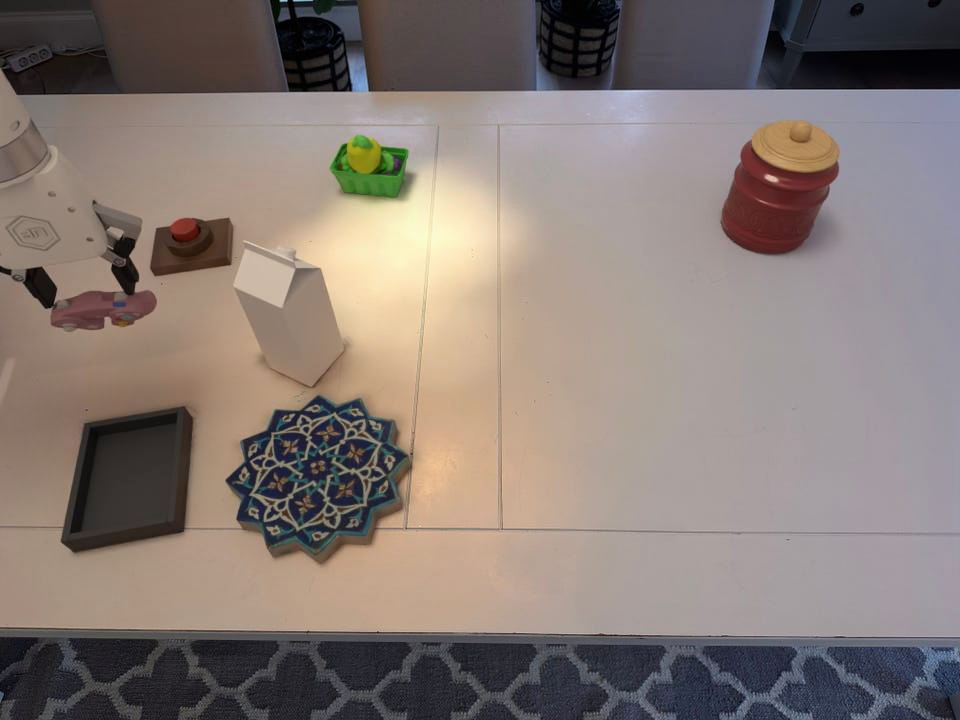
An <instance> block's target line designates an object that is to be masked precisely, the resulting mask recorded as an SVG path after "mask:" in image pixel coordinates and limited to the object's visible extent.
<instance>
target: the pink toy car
mask: <svg viewBox="0 0 960 720" xmlns="http://www.w3.org/2000/svg"><path fill="white" fill-rule="evenodd" d="M157 305H158V300H157V297H156V294H155V293H154V292H153V291H152V290H149V289H144V290H142V291H137V292H136V291H135V293H134V295H129V296H128V295H126V294H125V292H124V291H123V290H120V291H102V290H87V291H84V292H82V293H80V294H77V295H75V296H72V297H67V298H63V299H57V300H56V302H54V306H53V307H52V308H51V311H50V315H49V317H50V318H49V319H50V325H51V327H54V328H58V329H62V330H63V331H65V332H67V333H73V332H75V331H77V329H80V330H85V331H86V330H87V331H98V330H99V331H100V330H104V329H105V322H106V321H105V320H106V319H105V318H109V319H110V323H111V325H112V326H114V327H115V326H116V327H120V328H127V327H128V326H133V325H134V324H135V322H136V321H138V320H141V319H143V318H145V317H146V316H148V315H150V314H151V313H153V312H154V311H155V309H156V307H157Z"/></svg>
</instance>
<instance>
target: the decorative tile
mask: <svg viewBox="0 0 960 720" xmlns="http://www.w3.org/2000/svg"><path fill="white" fill-rule="evenodd" d="M397 431H398V428H397V422H396V420H395V419H391V418H384V417H375V416H370V414H369V412H368V409H367V407H366V405H365V403H364V401H363V398H362V397H357V398H354V399H351V400H348V401H345V402H342V403H339V404H335V403H334V402H332V401H331V400H329V399H328V398H326V397H325V396H323V395H322V394H320V393H318V394H317V395H316V396H315V397H313V398H312V399H311V400H309V402H307V403H306V404H305V405H304V406H303V407H301V408H300V409H299V410H297V409H296V410H295V409H285V408H283V409H282V408H275V409H274V410H273V412H272V415H271V418H270V419H269V422H268V424H267V427H266V429H265V430H263V431H261V432H258V433H256V434H253V435H250V436H248V437H245V438H243V439H240V441H239V444H240V448H241V451H242V455H243V459H244V461H243V462H242V463H241V464H240V465H239V466H238V467H237V468H236V469H235V470H234V471H232V473H230V474H229V475H228V476H227V477H226V478H225V484H226V485H227V486H228V487H229V489H230V491H231V492H232V493H233V494H234V495H236V497H238V498H239V499H240V502H239V506H238V510H237V513H236V518H235V519H236V521H237V522H238V524H239V525H240V527H241V528H242V530H246V531H250V532H255V533H260V534H262V537H263V540H264V544H265V547H266V550H267V551H268V552H269V554H270V556H271V557H272V558H278V557H280V556H281V557H282V556H284V555H287V554H290V553H294V552H297V551H302V552H304V553H305V554H306V555H307V556H309V557H310V558H311V559H312V560H313V561H315V562H316V563H318V564H319V565H322V564H324V562H326V560H327V559H328V558H329V557H331V556H332V555H333V554H334V553H335V552H336V551H337V550H338V549H339V548H340V547H341V546H342V545H345V544H349V545H370V544H371V543H372V540H373V536H374V532H375V528H376V525H377V521H378V519H380V518H383V517H386V516H387V515H390V514H392V513H395V512H397V511H400V510H402V509H403V503H402V499H401V496H400V493H399V491H398V488H397V484H398V483H399V481H400V480H401V479H402V478H403V477H404V475H405V474H406V473H407V472H408V471H409V469H410V468H411V467H412V464H411V459H410V455H409V454H408V453H407V452H406V451H404V450H403V449H402V448H400V447H398V446H397V445H396V444H395V443H396V440H397V436H398V432H397ZM396 435H397V436H396Z"/></svg>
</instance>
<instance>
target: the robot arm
mask: <svg viewBox="0 0 960 720" xmlns="http://www.w3.org/2000/svg"><path fill="white" fill-rule="evenodd" d="M12 86H13V85H11V82H10V81H9V80H8V78H7V76H6V75H5V73H4V71H3V70H2V68H1V67H0V273H1V274H4V275H7V276H10V278H11V280H12V281H13V282H14V283H15V282H16V283H20V284H21V283H22V285H23V286H24V287H25V288H26V290H27V291H28V292H29V293H30V295H31V296H32V297H33V298H34V299H36V300H38V302H39V303H40V304H41V306H42V307H43V308H44V309H45V310H48V309H52V308H53V306H54V304H55V303H56V302H55V301H56V297H57V293H58V287H57V285H56V284H55V282H54V281H53V279H52V278H51V277H50V275H49V274H48V272H47V271H46V270H45V268H44V267H48V266H56V265H62V264H66V263H67V264H68V263H73V262H80V261H86V260H91V259H95V258H98V257H100V258H102V259H103V260H105V261H107V262H108V263H110V264H111V265H110V271H111V273H112V275H113V277H115V280H116V281H117V283H118V284H119V286H120V288H121V289H122V291H124V292H125V294H126V295H128V296H129V295H134V293H135V292H136V286H137V285H136V284H137V283H139V281H140V273H139V271H138V269H137V267H136V266H135V263H134V262H133V260H132V259H131V257H130V256H131V254H132V253H133V251H134V249H135V248H136V245H137V242H138V240H139V238H140V235H141V232H142V228H143V224H144V223H143V222H144V221H143V219H142V217H139V216H136V215H134V214H130V213H127V212H125V211H121V210H118V209H114V208H111V207H108V206H106V205H102V203H101V202H100V200H99V198H98V197H97V195H96V194H95V192H94V190H93V189H92V187H90V185H89V184H88V183H87V181H86V180H85V178H84V177H83V176H82V174H81V173H80V172H79V171H78V169H77V168H76V167H75V166H74V164H72V162H71V161H70V160H69V159H68V158H67V157H66V156H65V155H64V154H63V153H62V152H61V150H59V149H58V148H57V147H56V145H54V144H47V142H46V141H45V139H44V137H43V136H42V134H41V132H40V130H39V129H38V127H37V125H36V123H35V122H34V120H33V119H32V118H31V115H30V114H29V113H28V111H27V110H26V108H25V106H24V105H23V103H22V101H21V99H20V98H19V96H18V94H17V93H16V91H15V89H14V88H13V87H12ZM111 227H112V228H115V229H119V230H120V231H123V233H122V235H121V236H120V237H119V236H118V235H117V234H115V233H113V232H111V231H110V230H108V229H110V228H111Z"/></svg>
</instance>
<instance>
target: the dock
mask: <svg viewBox="0 0 960 720" xmlns="http://www.w3.org/2000/svg"><path fill="white" fill-rule="evenodd" d="M193 423H194V418H193V416H192V415H191V414H190V412H189V410H188V409H187V406H185V405H183V406H182V405H181V406H177V407H171V408H164V409H159V410H154V411H147V412H141V413H136V414H130V415H123V416H118V417H111V418H107V419H100V420H94V421H90V422H84V423H83V428H82V431H81V432H82V433H81V437H80V443H79V448H78V452H77V457H76V463H75V468H74V473H73V478H72V483H71V487H70V493H69V498H68V501H67V508H66V513H65V518H64V523H63V528H62V532H61V537H60V543H61V544H62V545H64V546H65V547H66V548H67V549H68V550H70V551H71V552H72V553H78V552H84V551H89V550H94V549H99V548H105V547H109V546H116V545H120V544H125V543H131V542H137V541H142V540H146V539H151V538H152V539H153V538H158V537H163V536H168V535H173V534H179V533H183V532H185V523H186V520H185V519H186V511H187V510H186V509H187V498H188V497H187V495H188V485H189V484H188V483H189V472H190V462H191V461H190V458H191V447H192V436H193V435H192V434H193Z"/></svg>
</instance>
